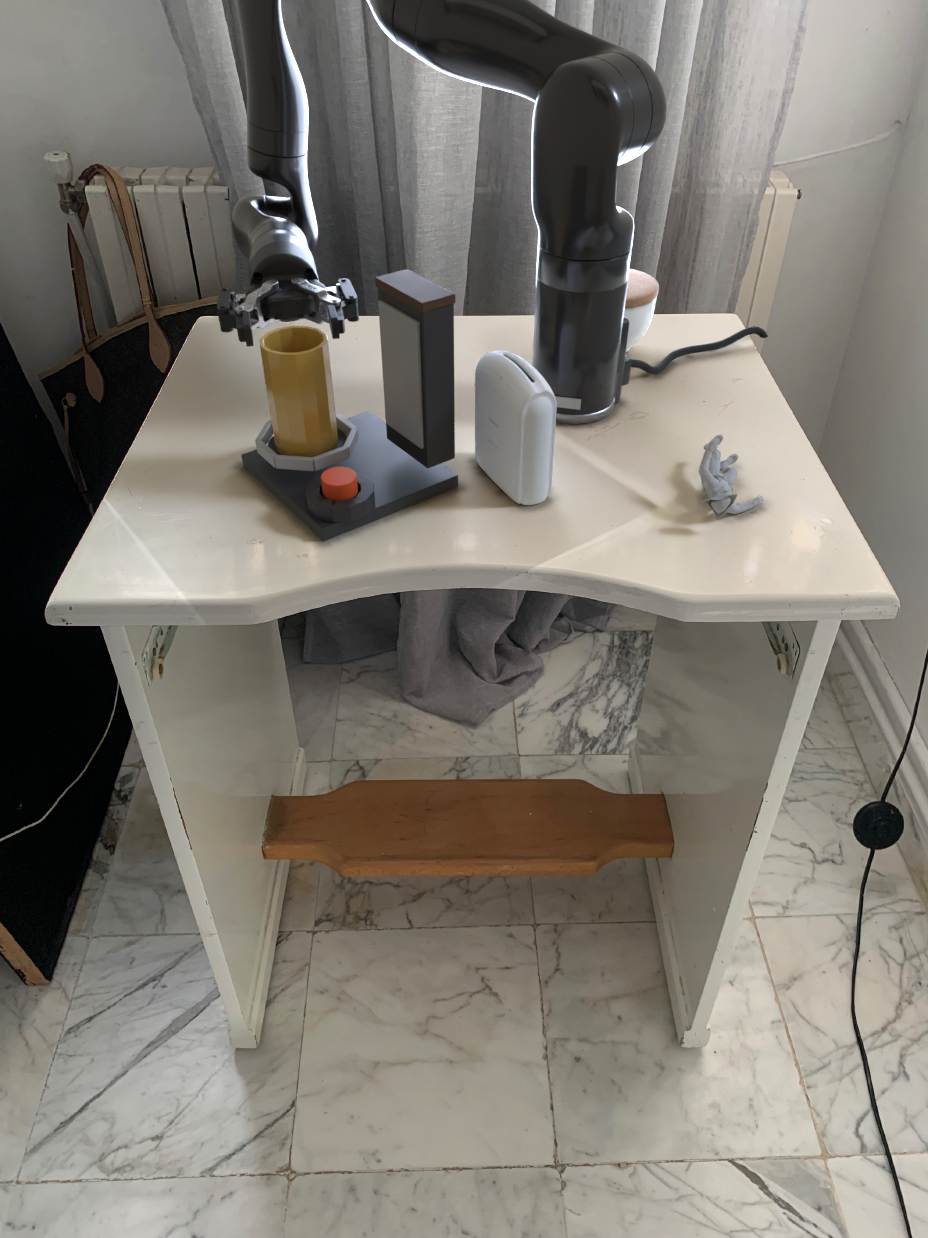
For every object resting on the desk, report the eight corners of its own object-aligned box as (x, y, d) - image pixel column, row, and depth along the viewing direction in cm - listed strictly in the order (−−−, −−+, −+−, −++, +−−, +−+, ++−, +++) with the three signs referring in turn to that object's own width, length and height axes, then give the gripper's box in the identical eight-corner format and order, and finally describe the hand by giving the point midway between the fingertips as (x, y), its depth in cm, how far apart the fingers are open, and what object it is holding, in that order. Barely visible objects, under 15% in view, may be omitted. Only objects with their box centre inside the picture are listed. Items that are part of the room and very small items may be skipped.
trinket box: (657, 363, 108) (669, 285, 101) (567, 363, 108) (574, 285, 101) (642, 326, 116) (652, 251, 110) (559, 327, 116) (564, 252, 109)
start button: (346, 478, 84) (344, 462, 82) (364, 494, 82) (363, 477, 80) (316, 490, 82) (314, 473, 81) (334, 506, 80) (332, 489, 79)
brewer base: (370, 422, 97) (368, 396, 95) (461, 489, 87) (461, 462, 85) (243, 466, 90) (238, 439, 88) (326, 545, 80) (323, 517, 78)
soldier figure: (756, 479, 90) (783, 512, 79) (716, 509, 92) (737, 546, 81) (709, 419, 88) (730, 445, 77) (669, 451, 90) (684, 481, 79)
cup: (318, 421, 90) (306, 320, 84) (350, 446, 87) (340, 342, 80) (264, 439, 88) (247, 336, 81) (294, 466, 84) (279, 360, 77)
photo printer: (468, 460, 91) (468, 343, 83) (506, 450, 92) (510, 334, 84) (517, 511, 84) (522, 389, 76) (556, 500, 85) (566, 379, 77)
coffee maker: (370, 397, 95) (359, 243, 84) (456, 458, 86) (455, 293, 75) (243, 440, 88) (214, 278, 78) (321, 510, 79) (300, 338, 69)
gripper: (212, 244, 97) (212, 301, 85) (343, 235, 100) (361, 290, 88) (224, 312, 102) (225, 375, 90) (349, 302, 105) (366, 362, 93)
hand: (292, 333), depth 89 cm, fingers open, 8 cm apart
